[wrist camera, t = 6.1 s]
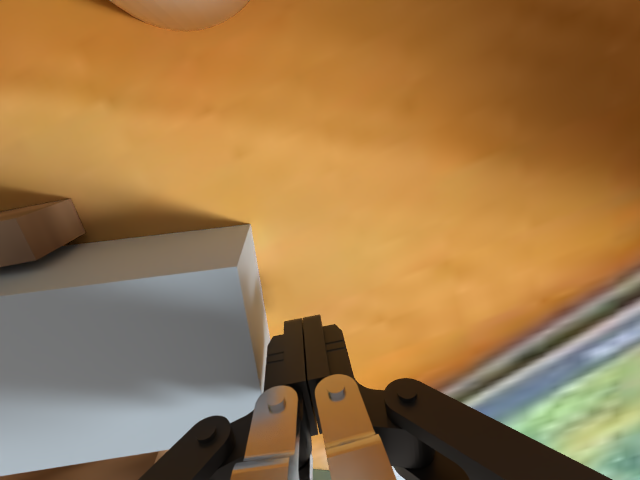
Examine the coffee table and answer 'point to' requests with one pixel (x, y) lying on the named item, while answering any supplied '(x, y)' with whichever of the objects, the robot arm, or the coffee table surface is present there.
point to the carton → (127, 345)
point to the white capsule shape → (182, 12)
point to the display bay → (32, 244)
